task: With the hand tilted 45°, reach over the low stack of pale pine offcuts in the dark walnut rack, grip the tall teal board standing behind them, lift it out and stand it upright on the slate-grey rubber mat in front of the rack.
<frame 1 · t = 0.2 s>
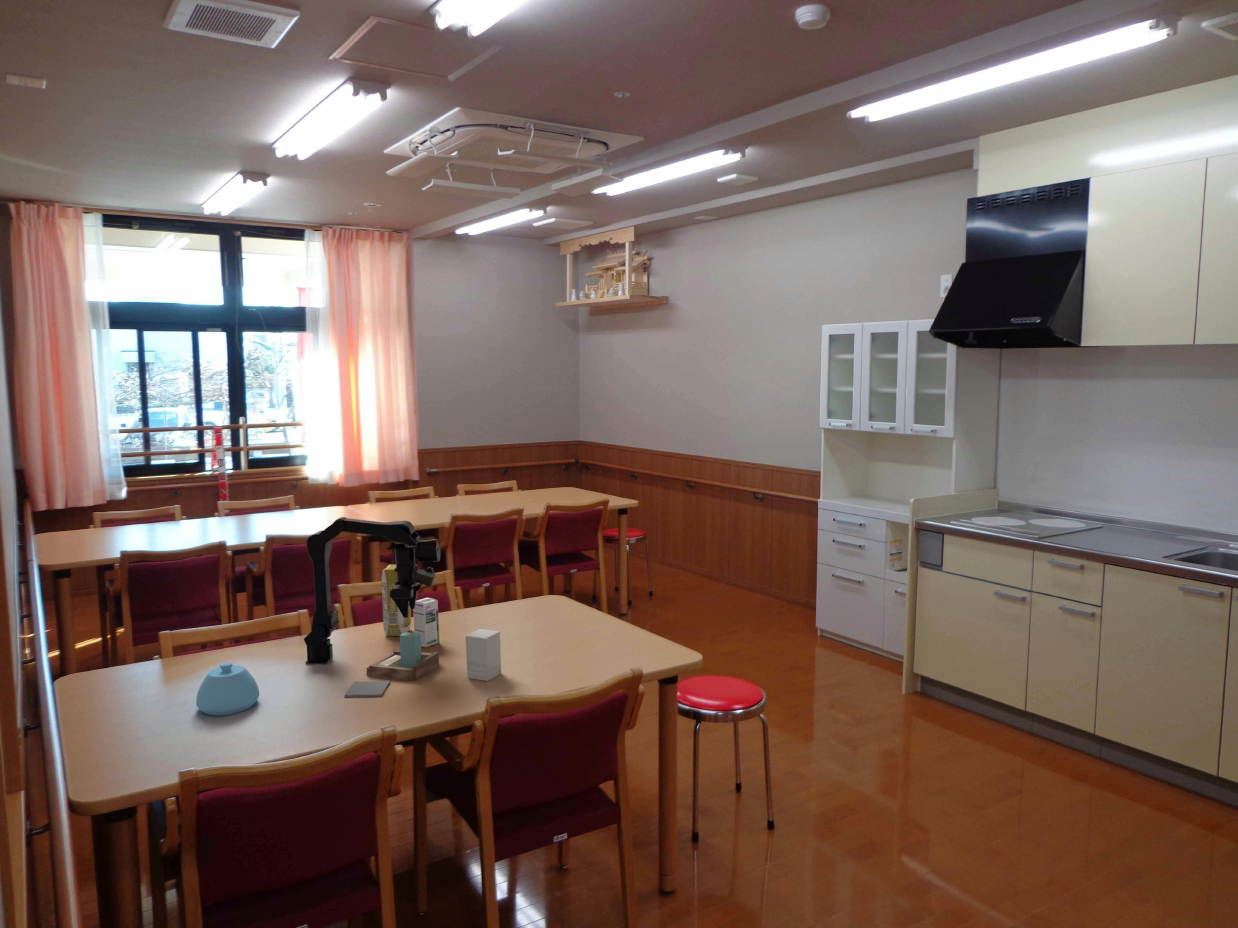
hand: (409, 613, 250), 14 cm above the table, tool pointing down, fingers open, 9 cm apart
grey mat: (367, 689, 227), on the table
sugar bowl: (228, 706, 217), on the table
walnut rack: (411, 670, 242), on the table
teal board: (411, 670, 242), resting in walnut rack
juice carton: (397, 633, 278), on the table
syrup box: (426, 644, 267), on the table
supplement box: (484, 676, 238), on the table
offcut stack: (392, 669, 244), resting in walnut rack
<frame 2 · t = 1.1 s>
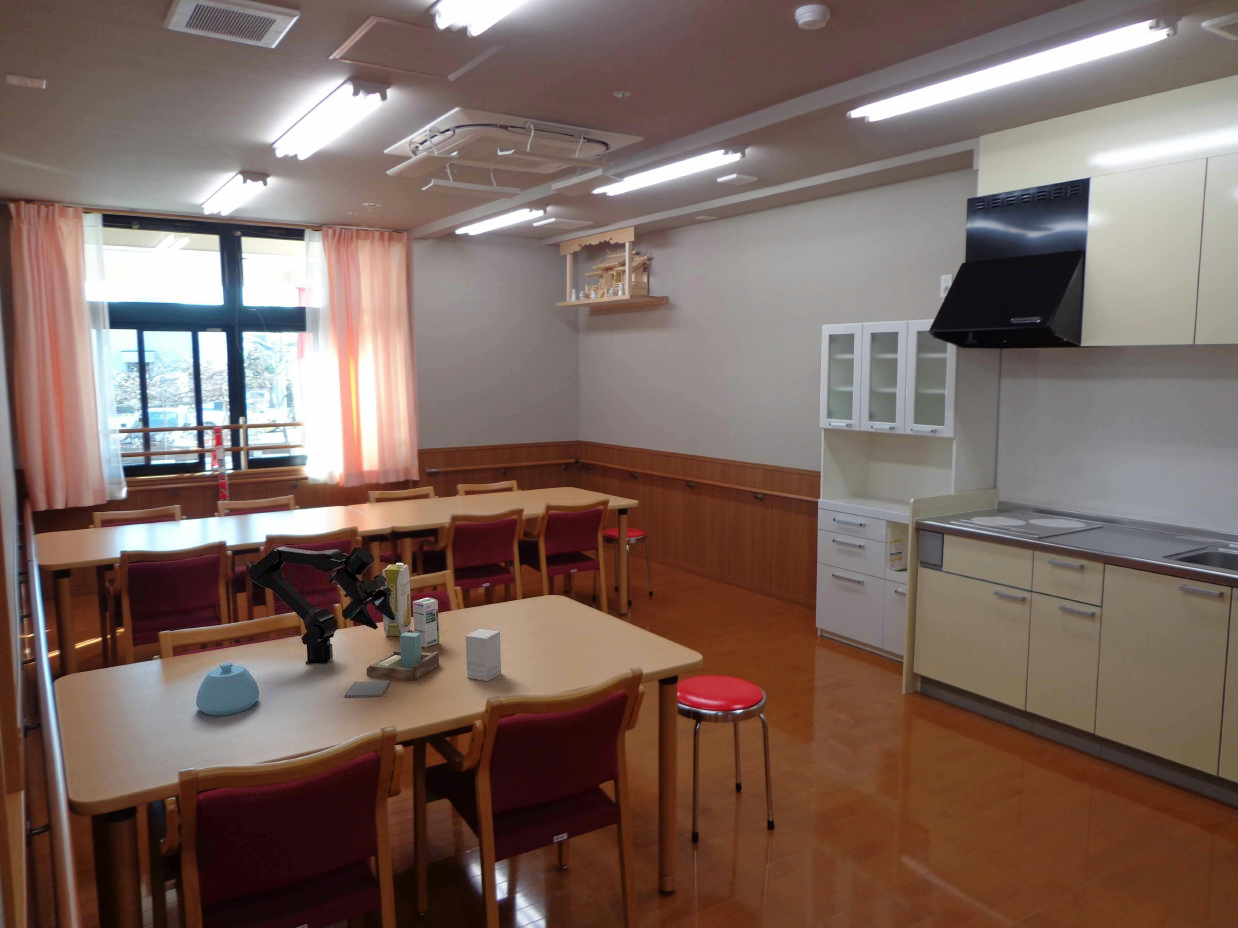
hand: (385, 623, 243), 13 cm above the table, tool tilted 45°, fingers open, 9 cm apart
nothing on the table moved.
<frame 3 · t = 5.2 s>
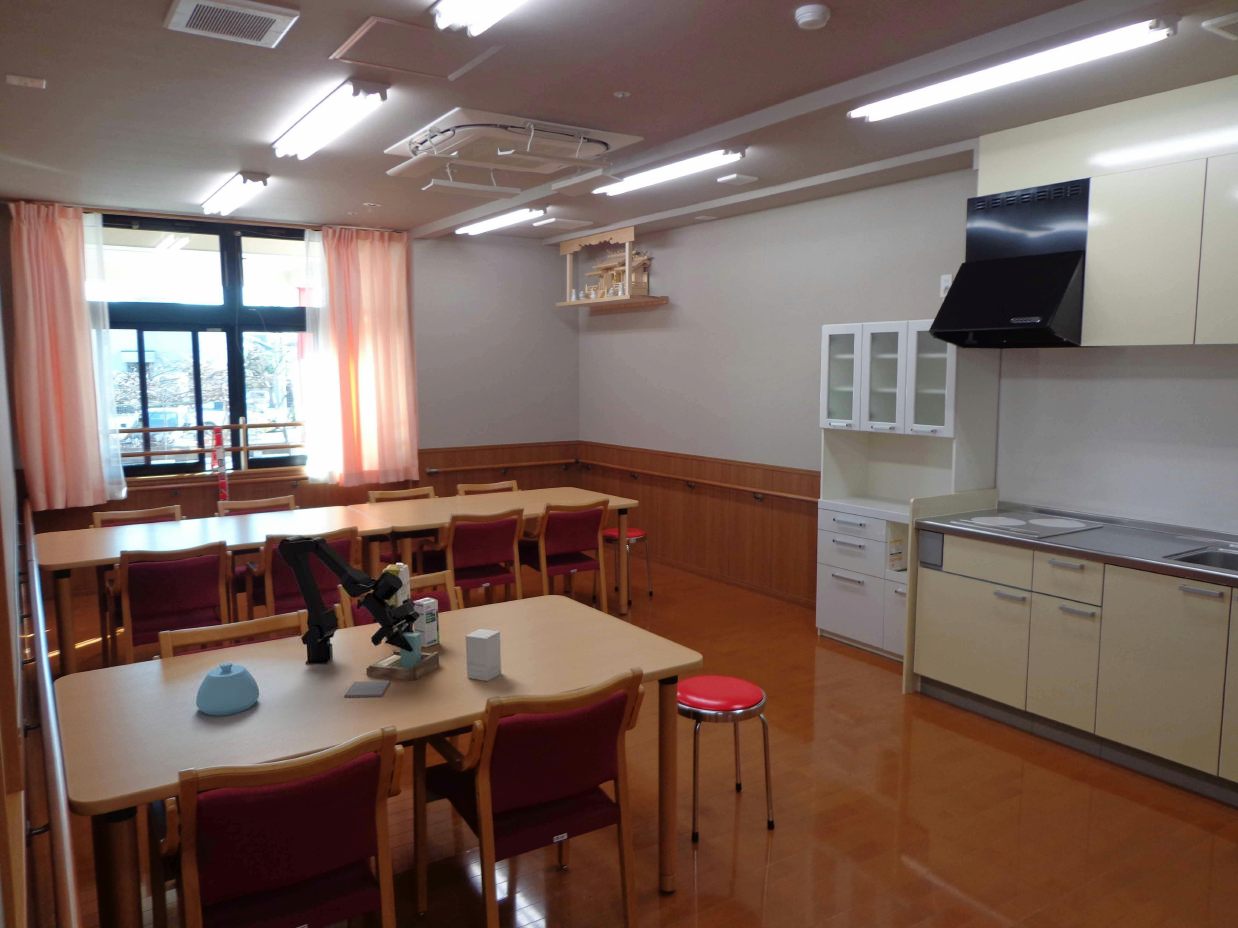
hand: (414, 649, 241), 7 cm above the table, tool tilted 45°, fingers closed on teal board, 3 cm apart
teal board: (411, 670, 242), resting in walnut rack, touching gripper
everything else where it was.
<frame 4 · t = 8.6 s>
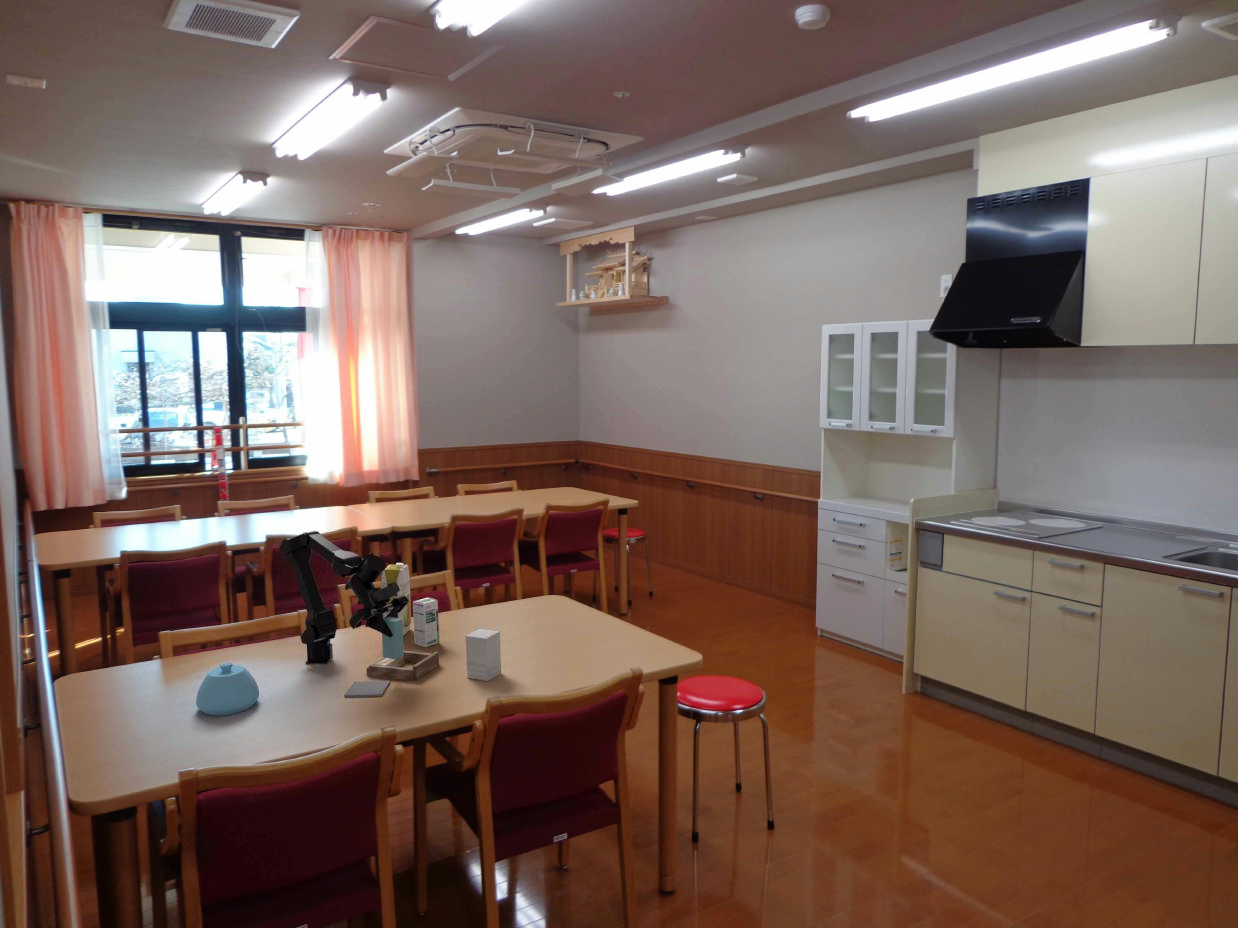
hand: (396, 634, 232), 13 cm above the table, tool tilted 45°, fingers closed on teal board, 3 cm apart
teal board: (393, 656, 234), point 7 cm above the table, touching gripper
everything else where it was.
when the fingers open (8 cm above the table, at t = 12.3 s): teal board stays where it is, resting on grey mat.
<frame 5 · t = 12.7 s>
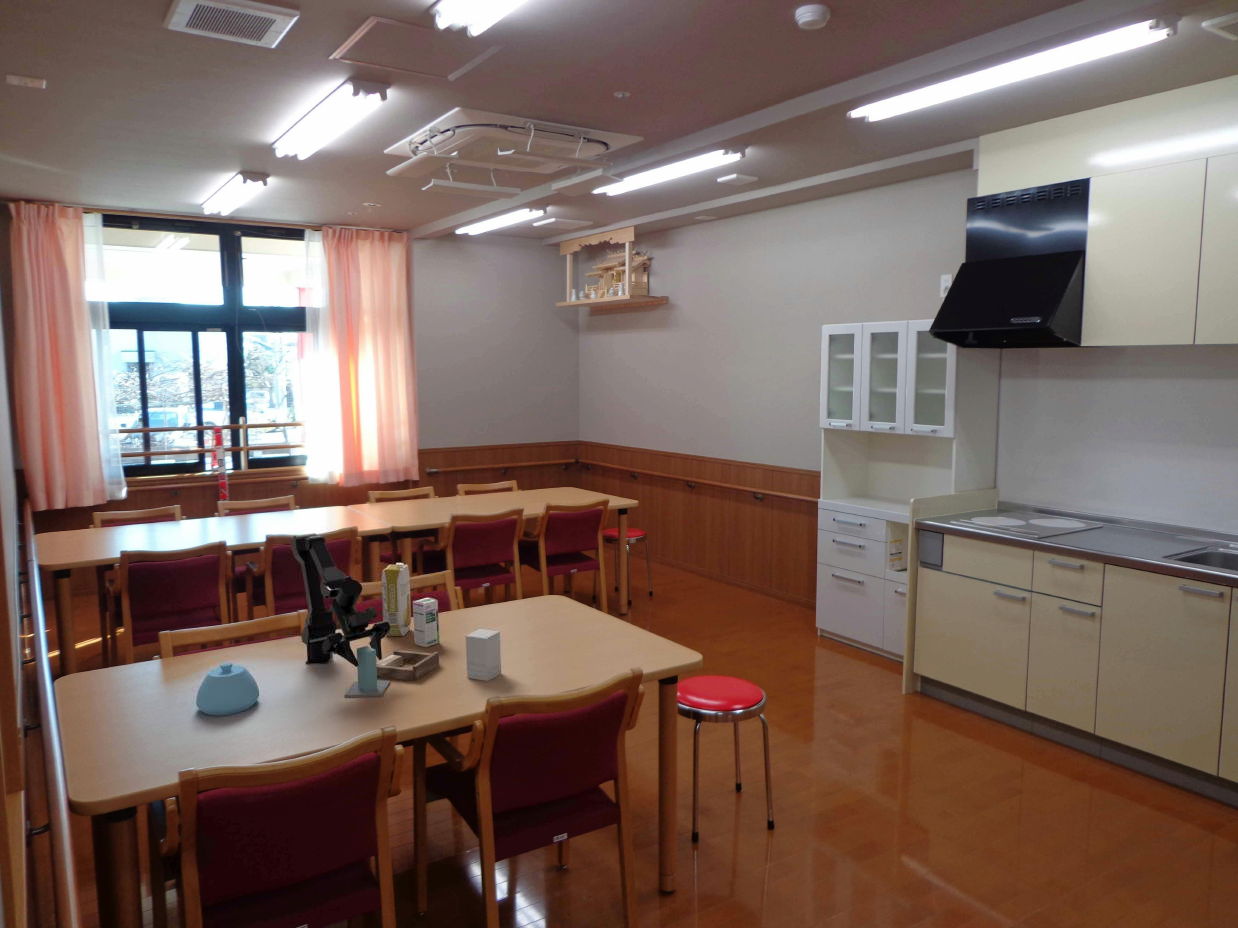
hand: (369, 662, 226), 8 cm above the table, tool tilted 45°, fingers open, 7 cm apart
teal board: (367, 687, 227), point 1 cm above the table, touching grey mat
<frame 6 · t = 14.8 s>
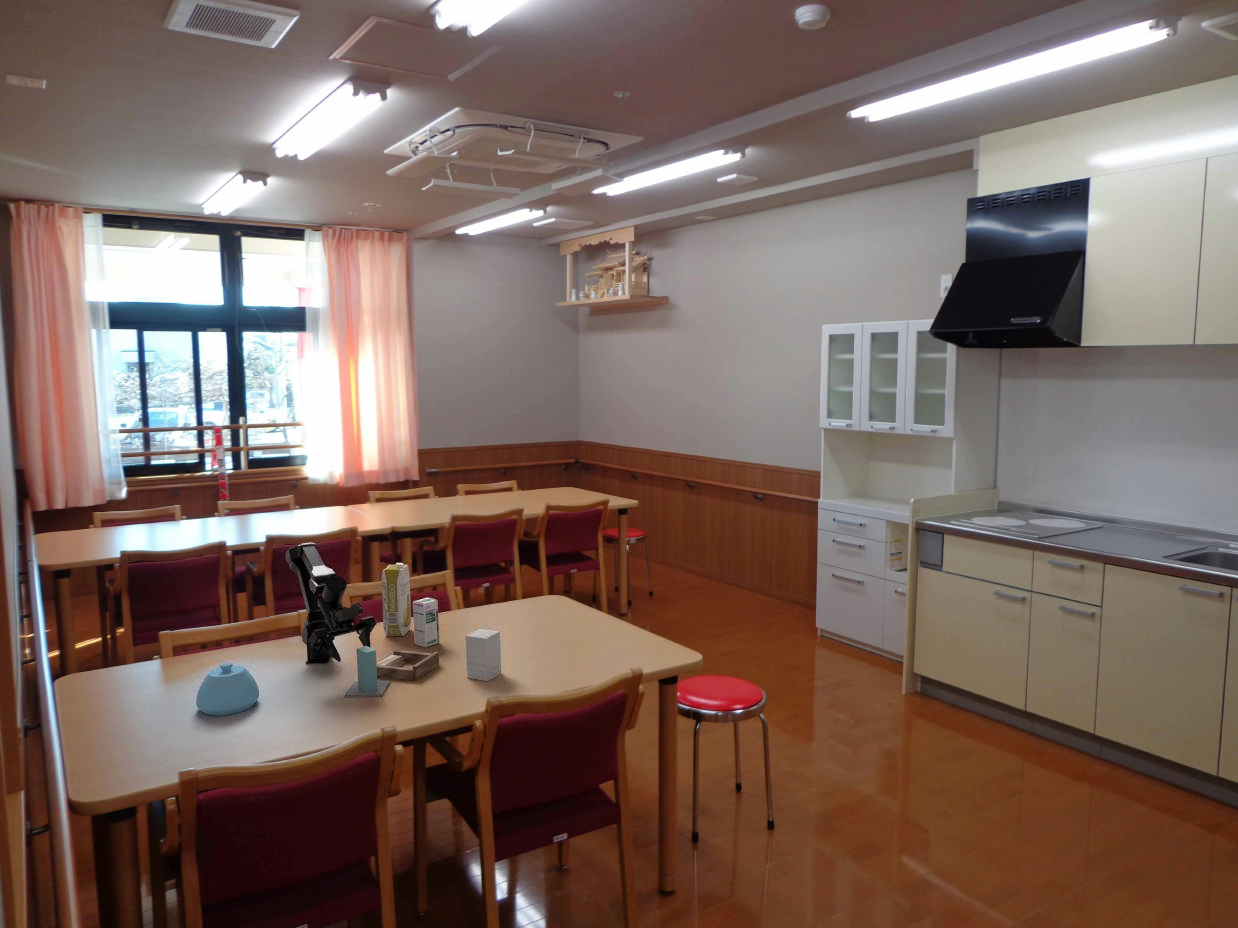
hand: (355, 656, 231), 8 cm above the table, tool tilted 45°, fingers open, 9 cm apart
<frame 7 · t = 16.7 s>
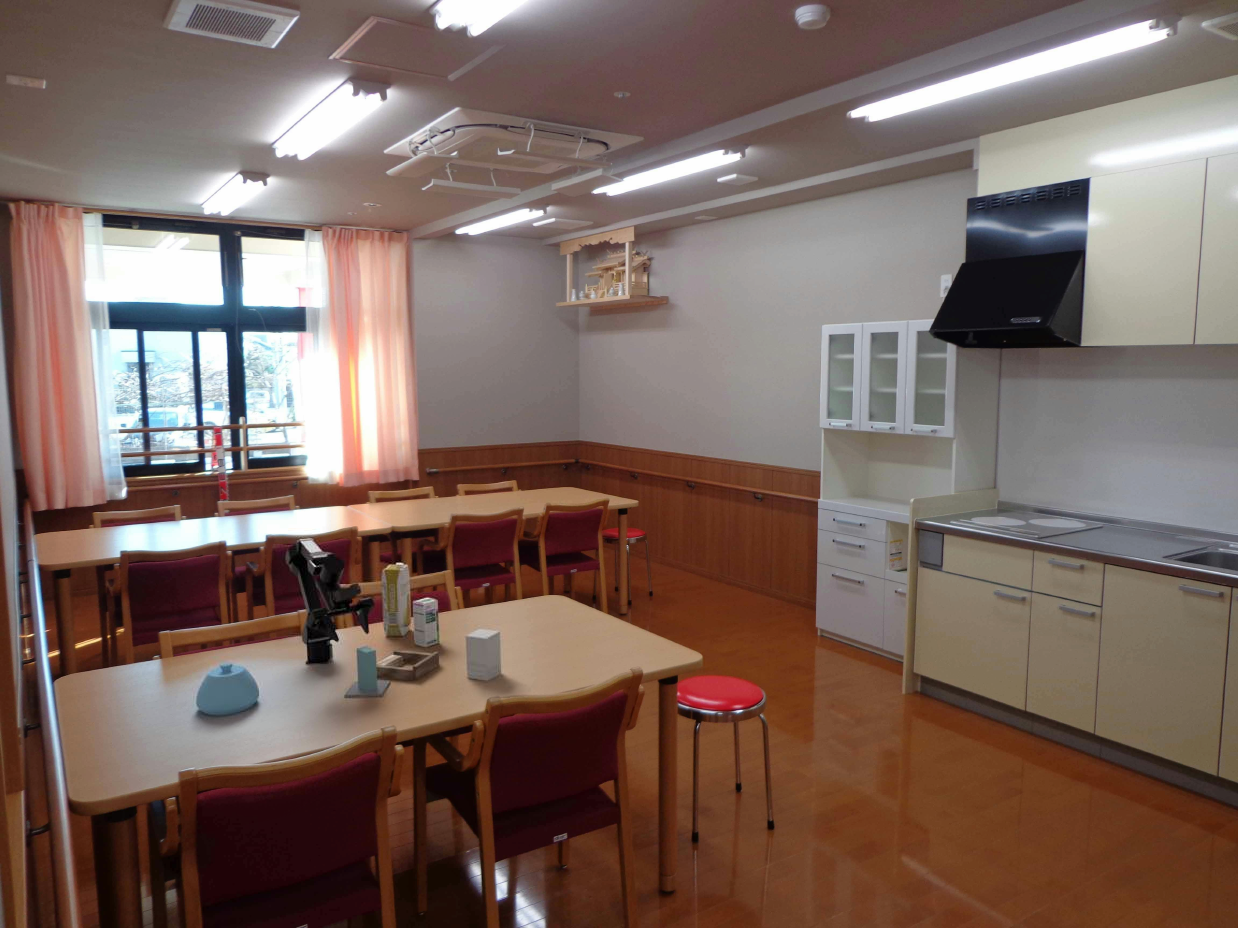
hand: (353, 637, 230), 14 cm above the table, tool tilted 45°, fingers open, 9 cm apart
at the end: teal board inside the target area on the grey mat (0.0 cm from its centre), point 0.6 cm above the grey mat's base; teal board tilted 0°; the gripper is holding nothing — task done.
